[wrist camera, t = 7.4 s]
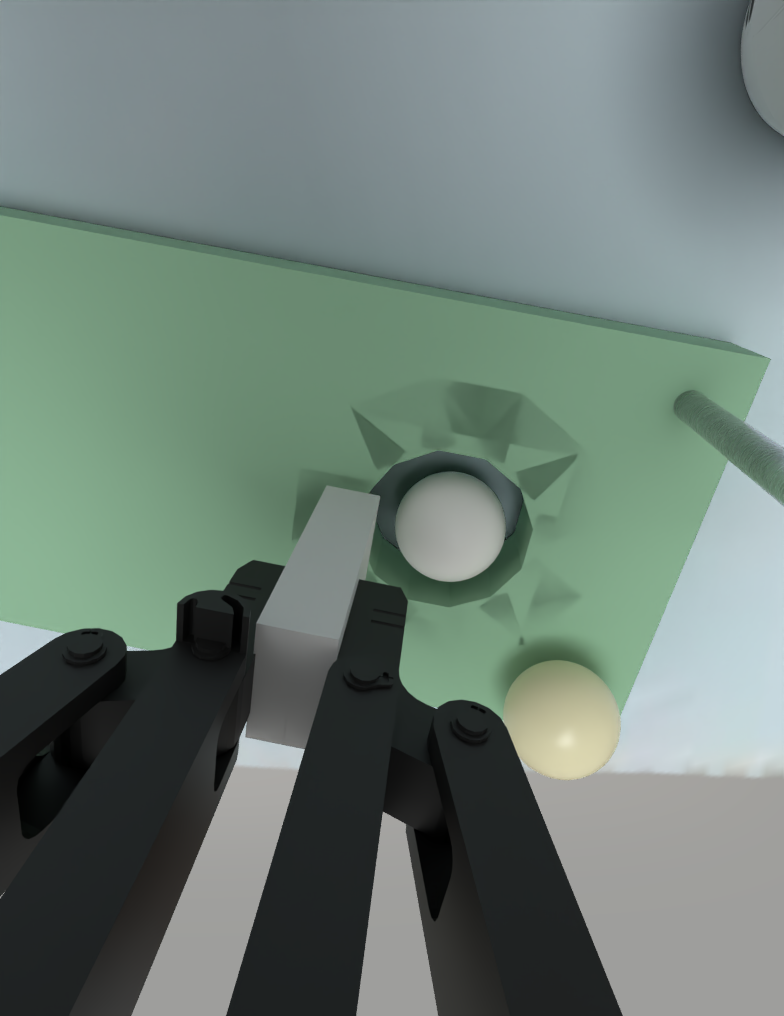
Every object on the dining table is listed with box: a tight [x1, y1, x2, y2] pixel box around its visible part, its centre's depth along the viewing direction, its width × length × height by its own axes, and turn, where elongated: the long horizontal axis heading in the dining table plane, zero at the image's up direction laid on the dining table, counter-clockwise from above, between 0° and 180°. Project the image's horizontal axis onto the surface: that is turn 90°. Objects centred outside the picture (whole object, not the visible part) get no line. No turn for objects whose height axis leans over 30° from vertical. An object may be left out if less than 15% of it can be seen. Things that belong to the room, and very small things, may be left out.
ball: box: [395, 471, 506, 582], centre depth 19 cm, size 3×3×3 cm
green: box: [0, 207, 771, 720], centre depth 20 cm, size 26×13×2 cm, turn 80°
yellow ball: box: [503, 660, 621, 780], centre depth 19 cm, size 3×3×3 cm
